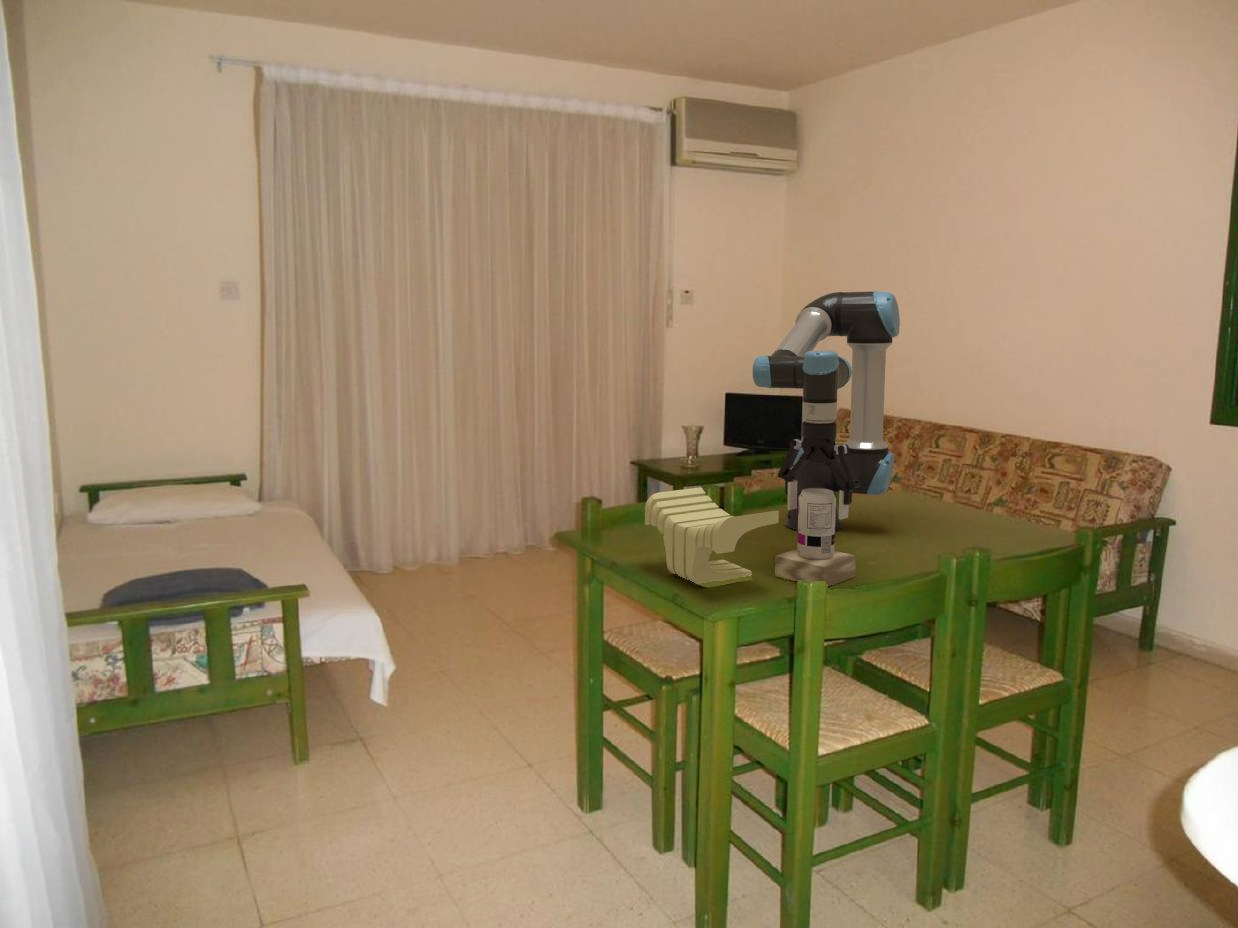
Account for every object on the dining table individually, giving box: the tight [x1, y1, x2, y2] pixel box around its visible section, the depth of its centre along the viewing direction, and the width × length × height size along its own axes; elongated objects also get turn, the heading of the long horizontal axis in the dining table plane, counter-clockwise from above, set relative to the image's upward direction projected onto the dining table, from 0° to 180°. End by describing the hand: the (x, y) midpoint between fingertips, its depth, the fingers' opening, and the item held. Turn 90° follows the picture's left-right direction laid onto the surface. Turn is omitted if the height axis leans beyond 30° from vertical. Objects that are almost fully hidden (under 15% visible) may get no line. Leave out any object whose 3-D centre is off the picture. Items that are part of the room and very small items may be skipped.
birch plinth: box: [774, 548, 857, 586], centre depth 210 cm, size 13×13×5 cm
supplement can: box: [796, 488, 837, 560], centre depth 209 cm, size 8×8×15 cm
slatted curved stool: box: [644, 486, 780, 585], centre depth 209 cm, size 30×16×18 cm, turn 29°
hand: (817, 513), depth 208 cm, fingers open, 13 cm apart
